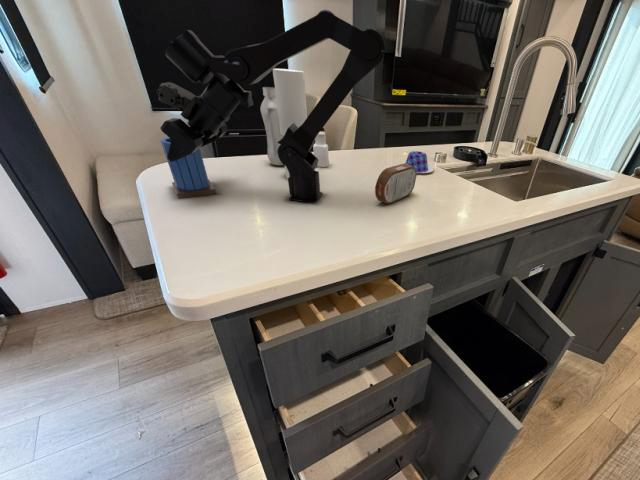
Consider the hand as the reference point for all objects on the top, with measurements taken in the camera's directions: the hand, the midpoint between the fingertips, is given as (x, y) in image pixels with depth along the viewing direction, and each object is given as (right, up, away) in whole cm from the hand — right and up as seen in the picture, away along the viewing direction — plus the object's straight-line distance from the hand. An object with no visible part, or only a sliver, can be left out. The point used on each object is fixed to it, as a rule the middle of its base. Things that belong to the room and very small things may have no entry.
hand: (177, 155), depth 73 cm
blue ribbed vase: (+1, -5, +4) cm, 7 cm away
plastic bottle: (+13, +9, +27) cm, 32 cm away
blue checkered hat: (+56, +11, +36) cm, 67 cm away
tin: (+49, -6, +12) cm, 51 cm away
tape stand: (+1, -6, +5) cm, 8 cm away
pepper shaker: (+25, +10, +30) cm, 41 cm away
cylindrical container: (+21, +3, +20) cm, 29 cm away
